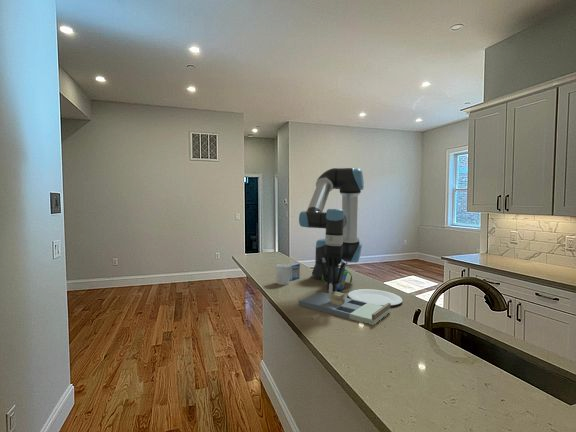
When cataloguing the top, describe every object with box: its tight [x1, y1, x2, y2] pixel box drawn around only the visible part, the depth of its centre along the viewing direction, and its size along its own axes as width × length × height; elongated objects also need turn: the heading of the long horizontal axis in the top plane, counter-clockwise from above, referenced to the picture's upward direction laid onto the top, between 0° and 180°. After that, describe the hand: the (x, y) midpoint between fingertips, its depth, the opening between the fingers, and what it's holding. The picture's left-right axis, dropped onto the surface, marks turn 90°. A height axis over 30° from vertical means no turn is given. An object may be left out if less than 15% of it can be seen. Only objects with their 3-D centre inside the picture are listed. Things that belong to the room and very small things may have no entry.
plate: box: [347, 288, 403, 307], centre depth 151 cm, size 25×25×2 cm
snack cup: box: [321, 267, 353, 291], centre depth 167 cm, size 16×10×10 cm
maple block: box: [330, 291, 346, 305], centre depth 137 cm, size 4×4×4 cm
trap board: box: [298, 291, 392, 326], centre depth 136 cm, size 18×34×4 cm, turn 54°
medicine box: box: [289, 262, 301, 281], centre depth 185 cm, size 8×4×9 cm, turn 143°
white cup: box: [275, 263, 291, 286], centre depth 174 cm, size 8×8×10 cm
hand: (331, 298), depth 139 cm, fingers closed
